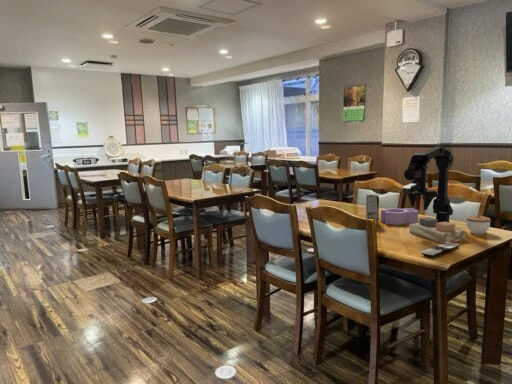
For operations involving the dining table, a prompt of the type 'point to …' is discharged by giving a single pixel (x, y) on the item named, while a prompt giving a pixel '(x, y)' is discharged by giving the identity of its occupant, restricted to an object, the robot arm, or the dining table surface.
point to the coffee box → (372, 207)
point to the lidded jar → (478, 224)
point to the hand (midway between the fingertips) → (418, 208)
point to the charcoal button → (428, 222)
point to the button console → (437, 233)
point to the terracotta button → (445, 226)
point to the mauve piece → (399, 216)
